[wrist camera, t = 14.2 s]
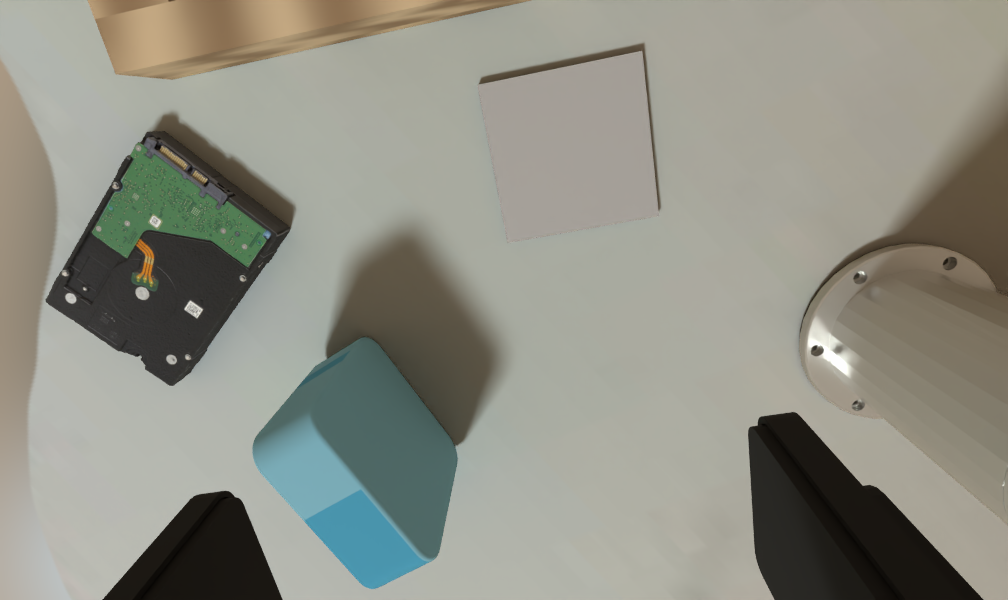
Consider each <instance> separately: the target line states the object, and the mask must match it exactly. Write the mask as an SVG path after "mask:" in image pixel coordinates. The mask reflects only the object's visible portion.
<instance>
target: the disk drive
mask: <svg viewBox="0 0 1008 600" xmlns="http://www.w3.org/2000/svg"><path fill="white" fill-rule="evenodd" d="M289 231H290V227H289V226H288V225H286V224H285V223H284V222H283V221H281V220H280V219H279V218H277V217H276V216H274V215H273V214H272V213H271V212H269V211H268V210H267V209H265V208H264V207H263V206H262V205H260V204H259V203H258V202H256V201H255V200H254V199H253V198H251V197H250V196H249V195H247V194H246V193H245V192H243V191H242V190H241V189H239V188H238V187H237V186H235V185H233V184H232V183H231V182H230V181H228V180H227V179H226V178H224V177H223V176H222V175H221V174H220V173H219V172H217V171H216V170H215V169H213V168H212V167H211V166H209V165H208V164H207V163H205V162H204V161H203V160H201V159H200V158H199V157H198V156H196V155H195V154H194V153H192V152H191V151H190V150H188V149H187V148H186V147H184V146H183V145H182V144H180V143H179V142H178V141H177V140H175V139H174V138H173V137H171V136H170V135H169V134H168V133H166V132H164V131H162V132H147V133H146V135H145V137H144V138H143V140H142V141H141V142H140V143H139V142H138V143H137V144H136V145H135V147H134V149H133V151H132V153H131V155H129V156H127V157H126V158H125V159H124V161H123V162H122V164H121V167H120V168H119V170H118V173H117V175H116V177H115V178H114V181H113V182H112V184H111V186H110V187H109V189H108V191H107V192H106V195H105V196H104V198H103V199H102V201H101V203H100V205H99V206H98V208H97V210H96V211H95V214H94V215H93V217H92V219H91V220H90V222H89V223H88V226H87V227H86V229H85V231H84V233H83V235H82V236H81V238H80V240H79V242H78V243H77V245H76V247H75V249H74V250H73V252H72V254H71V256H70V258H69V259H68V261H67V263H66V264H65V266H64V268H63V270H62V271H61V272H60V274H59V276H58V277H57V278H56V281H55V282H54V284H53V286H52V289H51V291H50V292H49V295H48V297H47V298H46V302H47V303H48V304H49V305H50V306H52V307H53V308H55V309H56V310H58V311H59V312H61V313H63V314H64V315H66V316H67V317H68V318H70V319H72V320H74V321H75V322H76V323H78V324H80V325H81V326H82V327H84V328H85V329H86V330H88V331H90V332H91V333H93V334H94V335H95V336H97V337H98V338H99V339H101V340H102V341H104V342H106V343H107V344H108V345H110V346H111V347H113V348H114V349H116V350H117V351H122V352H124V353H128V354H130V355H134V356H136V357H138V356H140V355H141V356H142V358H141V361H143V363H144V364H145V365H146V366H145V370H147V371H149V372H150V373H152V374H153V375H155V376H156V377H158V378H159V379H161V380H162V381H164V382H165V383H166V384H168V385H170V386H173V385H175V384H176V383H177V382H179V381H180V380H182V379H183V378H184V377H185V376H186V375H188V374H189V373H191V371H192V369H193V368H194V366H195V365H196V364H197V363H198V362H199V361H200V359H201V358H202V356H203V355H204V354H205V352H206V351H207V348H208V346H209V345H210V343H211V342H212V341H213V339H214V338H215V336H216V334H217V333H218V332H219V331H220V329H221V328H222V326H223V325H224V323H225V322H226V321H227V319H228V318H229V316H230V315H231V313H232V312H233V310H234V309H235V308H236V306H237V305H238V303H239V302H240V301H241V299H242V298H243V297H244V295H245V293H246V292H247V291H248V289H249V288H250V286H251V285H252V284H253V282H254V281H255V279H256V278H257V276H258V275H259V274H260V272H261V271H262V269H263V268H264V267H265V265H266V264H267V263H269V261H270V260H271V259H272V257H273V256H274V254H275V253H276V251H277V248H278V247H279V246H280V244H281V243H282V241H283V240H284V239H285V237H286V236H287V234H288V233H289Z"/></svg>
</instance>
